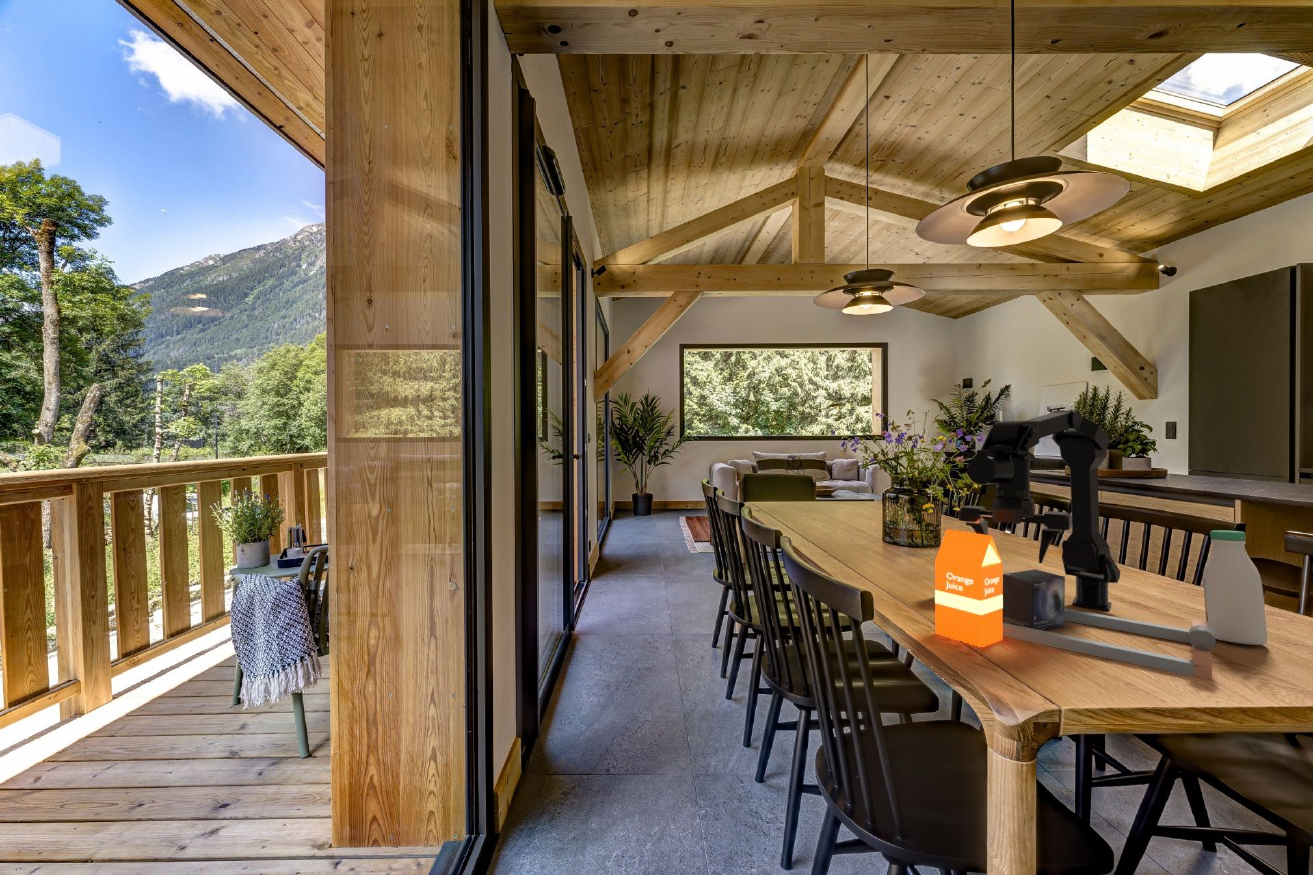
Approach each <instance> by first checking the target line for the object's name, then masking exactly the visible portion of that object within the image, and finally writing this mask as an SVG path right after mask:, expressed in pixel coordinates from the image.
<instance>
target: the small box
mask: <svg viewBox="0 0 1313 875" xmlns="http://www.w3.org/2000/svg"><path fill="white" fill-rule="evenodd" d="M1002 594H1003V608H1002V622H1003V623H1007V624H1012V625H1017V626H1022V627H1027V628H1032V629H1037V630H1042V631H1047V632H1050V631H1053V630H1058V629H1062V628H1065V616H1064V615H1065V613H1064V612H1065V608H1066V607H1065V603H1066V602H1065V600H1066V599H1065V598H1066V597H1065V595H1066V576H1064V575H1059V574H1055V573H1052V572H1047V571H1043V570H1039V569H1036V568H1035V569H1028V570H1020V571H1015V572H1008V573H1002Z"/></svg>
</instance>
